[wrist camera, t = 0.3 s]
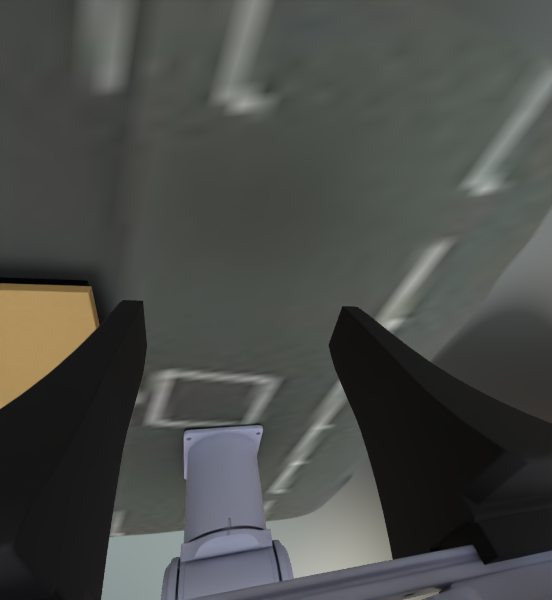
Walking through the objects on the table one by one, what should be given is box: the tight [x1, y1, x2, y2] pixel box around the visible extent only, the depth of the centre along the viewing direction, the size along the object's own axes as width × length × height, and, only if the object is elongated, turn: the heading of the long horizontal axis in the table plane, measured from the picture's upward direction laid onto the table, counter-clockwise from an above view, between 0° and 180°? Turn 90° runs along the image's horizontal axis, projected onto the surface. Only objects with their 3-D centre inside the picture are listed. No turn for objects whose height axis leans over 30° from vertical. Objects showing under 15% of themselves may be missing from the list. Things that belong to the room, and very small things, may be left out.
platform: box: [0, 277, 99, 409], centre depth 21 cm, size 12×12×2 cm
